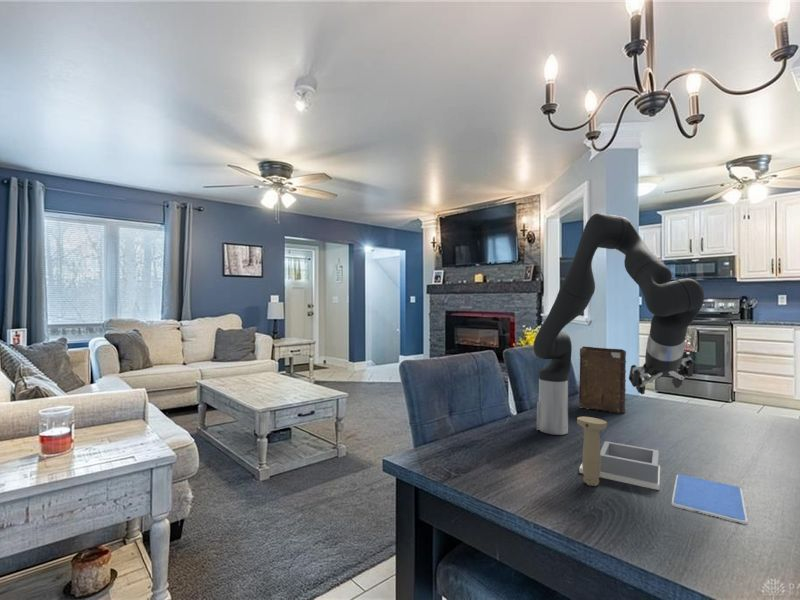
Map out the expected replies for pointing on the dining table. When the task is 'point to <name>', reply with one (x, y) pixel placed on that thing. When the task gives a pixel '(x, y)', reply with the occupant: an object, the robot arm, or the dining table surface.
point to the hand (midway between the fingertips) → (658, 388)
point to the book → (602, 379)
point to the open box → (630, 464)
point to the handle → (591, 448)
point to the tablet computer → (709, 498)
